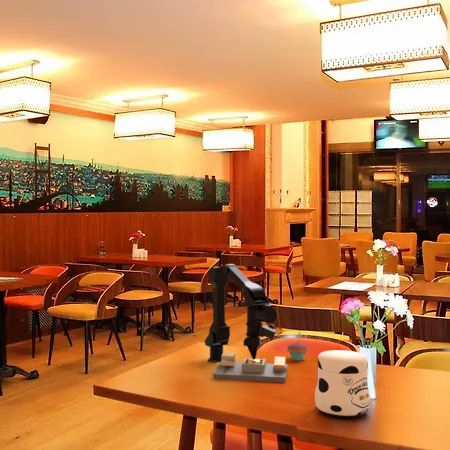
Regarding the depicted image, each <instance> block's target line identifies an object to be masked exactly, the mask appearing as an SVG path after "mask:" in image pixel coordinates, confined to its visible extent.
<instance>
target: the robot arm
mask: <svg viewBox="0 0 450 450" xmlns="http://www.w3.org/2000/svg"><path fill="white" fill-rule="evenodd" d="M207 274H208V281H209V283H210V285H211V287H212V314H213V315H212V323H211V325H210V326H209V331H208V335H206V338H205V339H204V344H205V346H207V347H209V357H208V359H207V361H208V362H221V356H222V354H223V353H224V346H228V344H229V339H230V336H231V334H230V333H231V330H230V329H231V327H230V326H229V325H228V324H227V323H226V300H225V299H226V297H225V296H226V289H225V288H226V286H227V285H228V282H229V279H230V280H231V281H232V282H233V283H234V284H235V285H236V286H237V287H238V288H239V289H240V290H241V296H242V297H243V299H244V300H245V303H244V304H243V306H244V307H246V322H245V326H246V333H245V334H246V335H245V338H244V339H243V346H244V347H247V350H248V352H249V354H250V356H251V359H257V353H258V349H259V347H261V344H262V342H263V339H262V338H264V337H266V338H269V340H274V338H275V336H276V333H277V329H276V328H275V325H274V322H276V320H277V317H278V315H277V311H276V309H274V307H273V305H272V304H270V302H269V299H268V297H267V294H266V292H265V290H264V288H263V287H262V286H261V285H260V284H258V283H255V282H252V281H250V279H249V278H248V277H246V275H245V274H243V272H242V271H241V270H240V269H239V268H238V266H237V265H236V264H234V263H227V264H224V265H221V266H212V267H210V269H208V272H207ZM264 323H266V324H269V325H264ZM261 337H262V338H261Z"/></svg>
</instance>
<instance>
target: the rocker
mask: <svg viewBox="0 0 450 450" xmlns="http://www.w3.org/2000/svg"><path fill="white" fill-rule="evenodd" d="M273 364H274V368H279V369H285V364H286V356H275V357H274V363H273Z"/></svg>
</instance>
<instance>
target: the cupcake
mask: <svg viewBox="0 0 450 450" xmlns="http://www.w3.org/2000/svg"><path fill="white" fill-rule="evenodd" d="M297 340H298V341H297V342H294V341H293V342H291V343H290V344H289V345H287V349H286V350H287V352H288V353H289V355H290V358H291V360H292V361H298V362H299V361H303V360H304V356H305V354H306V353H307V352H308V346H306V344H305V343H303V342H301V341H300V340H301V331H299V332H298V339H297Z"/></svg>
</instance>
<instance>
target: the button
mask: <svg viewBox="0 0 450 450" xmlns="http://www.w3.org/2000/svg"><path fill="white" fill-rule="evenodd" d="M260 359H261V358H256V359H252V358H251V359H248V363H249V364H261V360H260Z"/></svg>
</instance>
